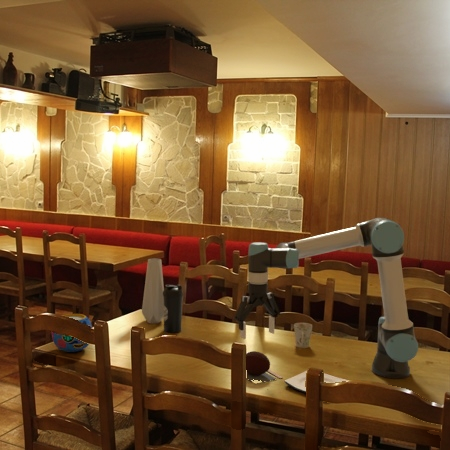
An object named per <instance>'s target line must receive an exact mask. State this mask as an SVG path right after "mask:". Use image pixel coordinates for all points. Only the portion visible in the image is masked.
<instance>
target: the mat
mask: <svg viewBox="0 0 450 450" xmlns="http://www.w3.org/2000/svg"><path fill="white" fill-rule="evenodd" d="M247 379H249V380H253V379H254V380H258V381H260V380H261V381H262V382H263V383H265V382H264V381H268V382H271V381H270V380H273V381H276V380H277V377H275V376H274V375H273V376H272V374H270V373H269V374H268V372H266V373H264V374H261V375H251V374H248V373H247ZM247 379H246V380H247ZM275 379H276V380H275ZM249 380H248V381H249ZM254 380H253V381H254Z"/></svg>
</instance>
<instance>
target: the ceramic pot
mask: <svg viewBox="0 0 450 450" xmlns="http://www.w3.org/2000/svg"><path fill="white" fill-rule="evenodd" d="M61 316H65V317H69V318H73V319H75V320H78V321H79V322H81V323H83V324H86V325H88V326H90V327H91V328H93V325H92V322H91V321H90V319H89V317H87V316H86V315H84V314H81V313H68V314H62V315H61ZM51 338H52V341H53V344H54V345H55V347H56V348H57V349H58V350H61V351H64V352H67V353H76V352H80V351H82V350H84V349H86V348H87V347H88V346H89V345H90V343H89V344H87V343H84V342H82V341H80V340H78V339H76V338H74V337H71V336H65V335H60V334H56V333H53V332H52V331H51Z"/></svg>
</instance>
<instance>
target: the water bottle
mask: <svg viewBox="0 0 450 450" xmlns="http://www.w3.org/2000/svg"><path fill="white" fill-rule="evenodd" d="M184 293H185V292H184V290H183V287H182V285H181V284H179V283H178V284H176V285H174V284H165V287H164V291H163V297H164V317H163V332H165V333H167V334H177V333H180V332H182V319H183V317H182V316H183V299H184V298H183V297H184Z"/></svg>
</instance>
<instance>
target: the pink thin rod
mask: <svg viewBox="0 0 450 450" xmlns="http://www.w3.org/2000/svg"><path fill="white" fill-rule="evenodd" d="M267 373H269V374H270V375H272V374H273V376H274V375H275V376H274V377H275V378H278V379H279V378H280V380H281V378H282V379H283V378H284V376H281V375H279V374H278V373H276V372H274V371H272V370H270V369H269V370H268V372H267Z"/></svg>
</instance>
